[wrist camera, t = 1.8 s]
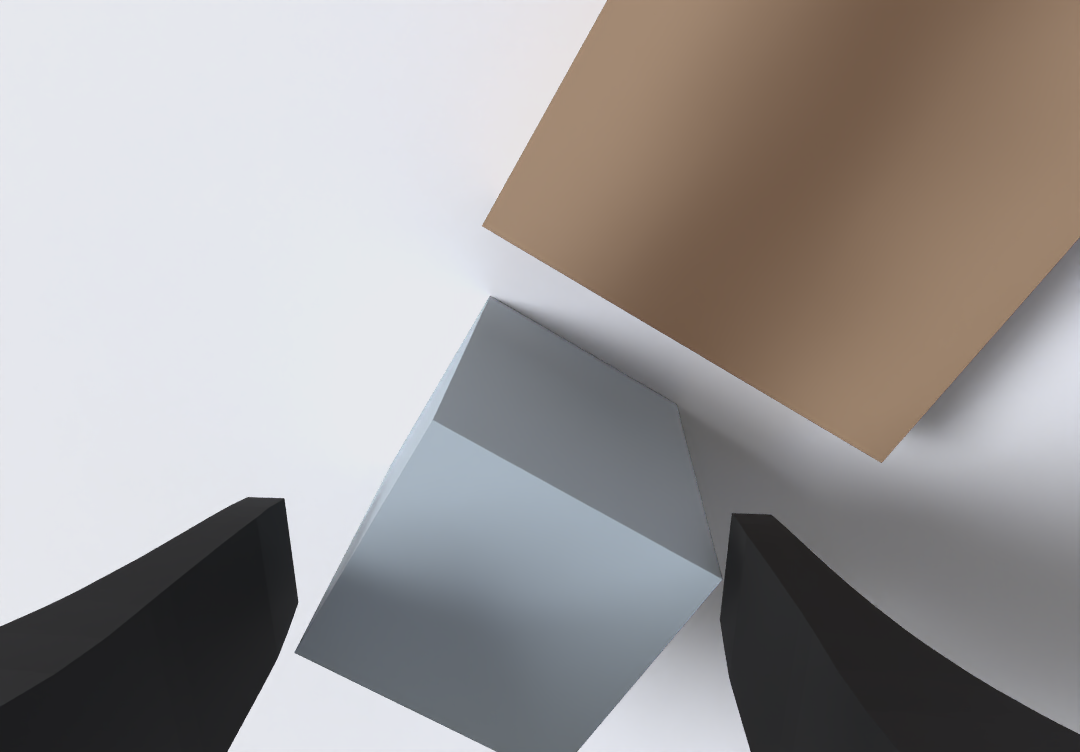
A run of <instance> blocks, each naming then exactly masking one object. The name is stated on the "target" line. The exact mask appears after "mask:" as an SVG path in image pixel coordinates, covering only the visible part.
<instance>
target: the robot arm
mask: <svg viewBox="0 0 1080 752" xmlns="http://www.w3.org/2000/svg"><path fill="white" fill-rule="evenodd" d="M297 605H298V596H297V588H296V581H295V574H294V566H293V559H292V551H291V544H290V537H289V529H288V522H287V515H286V507H285V500H284V498H256V497H247V498H245V499H243V500H241V501H239V502H237V503H235V504H233V505H231V506H229V507H227V508H225V509H223V510H221V511H220V512H218V513H216V514H214V515H213V516H211V517H209V518H207V519H206V520H204V521H202V522H201V523H199V524H197V525H195V526H194V527H192V528H190V529H189V530H187V531H185V532H183V533H182V534H180V535H178V536H177V537H175V538H173V539H171V540H170V541H168V542H166V543H164V544H163V545H161V546H159V547H158V548H156V549H154V550H152V551H151V552H149V553H147V554H146V555H144V556H142V557H140V558H138V559H137V560H135V561H133V562H131V563H129V564H127V565H125V566H124V567H122V568H120V569H118V570H116V571H114V572H112V573H110V574H109V575H107V576H105V577H103V578H101V579H99V580H97V581H95V582H94V583H92V584H90V585H88V586H86V587H84V588H82V589H81V590H79V591H77V592H75V593H73V594H71V595H69V596H67V597H64V598H62V599H60V600H58V601H56V602H54V603H52V604H50V605H48V606H46V607H43V608H41V609H39V610H37V611H35V612H32V613H30V614H28V615H26V616H23V617H21V618H19V619H16V620H14V621H12V622H10V623H7V624H5V625H3V626H0V752H227V751H228V749H229V748H230V746H231V744H232V742H233V740H234V738H235V737H236V735H237V733H238V731H239V729H240V727H241V726H242V724H243V722H244V720H245V718H246V716H247V715H248V713H249V711H250V709H251V707H252V706H253V704H254V702H255V700H256V698H257V696H258V694H259V692H260V691H261V689H262V687H263V685H264V683H265V681H266V679H267V677H268V676H269V674H270V672H271V670H272V668H273V666H274V664H275V662H276V660H277V658H278V656H279V653H280V651H281V648H282V646H283V643H284V641H285V638H286V636H287V633H288V630H289V627H290V625H291V622H292V619H293V616H294V613H295V611H296V608H297ZM720 623H721V629H722V636H723V643H724V649H725V655H726V661H727V667H728V673H729V678H730V682H731V686H732V689H733V693H734V696H735V700H736V703H737V706H738V710H739V713H740V717H741V720H742V724H743V727H744V730H745V734H746V737H747V740H748V744H749V747H750V751H751V752H1080V734H1078V733H1076V732H1074V731H1072V730H1070V729H1068V728H1066V727H1064V726H1062V725H1060V724H1058V723H1056V722H1054V721H1052V720H1050V719H1049V718H1047V717H1045V716H1043V715H1041V714H1039V713H1037V712H1036V711H1034V710H1032V709H1030V708H1028V707H1027V706H1025V705H1023V704H1021V703H1020V702H1018V701H1016V700H1014V699H1012V698H1011V697H1009V696H1007V695H1005V694H1004V693H1002V692H1000V691H998V690H996V689H995V688H993V687H991V686H990V685H988V684H986V683H985V682H983V681H981V680H980V679H978V678H976V677H975V676H973V675H971V674H970V673H968V672H967V671H965V670H964V669H962V668H961V667H959V666H957V665H956V664H954V663H953V662H951V661H950V660H948V659H947V658H945V657H944V656H942V655H941V654H939V653H938V652H936V651H935V650H933V649H932V648H930V647H929V646H927V645H926V644H924V643H923V642H922V641H920V640H919V639H917V638H916V637H915V636H913V635H912V634H910V633H909V632H908V631H906V630H905V629H904V628H902V627H901V626H900V625H898V624H897V623H896V622H895V621H893V620H892V619H891V618H889V617H888V616H887V615H885V614H884V613H883V612H882V611H880V610H879V609H878V608H876V607H875V606H874V605H873V604H871V603H870V602H869V601H868V600H867V599H865V598H864V597H863V596H862V595H860V594H859V593H858V592H857V591H856V590H854V589H853V588H852V587H851V586H850V585H849V584H847V583H846V582H845V581H844V580H843V579H842V578H841V577H839V576H838V575H837V574H836V573H835V572H834V571H833V570H831V569H830V568H829V567H828V566H827V565H826V564H825V563H824V562H823V561H821V560H820V559H819V558H818V557H817V556H816V555H815V554H814V553H813V552H812V551H811V550H809V549H808V548H807V547H806V546H805V545H804V544H803V543H802V542H801V541H800V540H799V539H798V538H797V537H795V536H794V535H793V534H792V533H791V532H790V531H789V530H788V529H787V528H786V527H785V526H784V525H782V524H781V523H780V522H779V521H778V520H777V519H776V518H775V517H773V516H772V515H766V514H736V513H732V517H731V526H730V535H729V544H728V553H727V562H726V570H725V579H724V588H723V597H722V606H721V615H720Z"/></svg>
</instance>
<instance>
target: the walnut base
mask: <svg viewBox="0 0 1080 752" xmlns="http://www.w3.org/2000/svg"><path fill="white" fill-rule="evenodd" d="M482 226H483V227H484V228H486V229H488V230H490V231H491V232H493V233H495V234H496V235H498V236H500V237H501V238H503V239H505V240H506V241H508V242H510V243H511V244H513V245H515V246H517V247H518V248H520V249H522V250H523V251H525V252H527V253H528V254H530V255H532V256H533V257H535V258H537V259H538V260H540V261H542V262H544V263H545V264H547V265H549V266H550V267H552V268H554V269H555V270H557V271H559V272H560V273H562V274H564V275H565V276H567V277H569V278H570V279H572V280H574V281H576V282H577V283H579V284H581V285H582V286H584V287H586V288H587V289H589V290H591V291H592V292H594V293H596V294H597V295H599V296H601V297H603V298H604V299H606V300H608V301H609V302H611V303H613V304H614V305H616V306H618V307H619V308H621V309H623V310H624V311H626V312H628V313H629V314H631V315H633V316H635V317H636V318H638V319H640V320H641V321H643V322H645V323H646V324H648V325H650V326H651V327H653V328H655V329H656V330H658V331H660V332H662V333H663V334H665V335H667V336H668V337H670V338H672V339H673V340H675V341H677V342H678V343H680V344H682V345H683V346H685V347H687V348H689V349H690V350H692V351H694V352H695V353H697V354H699V355H700V356H702V357H704V358H705V359H707V360H709V361H710V362H712V363H714V364H715V365H717V366H719V367H721V368H722V369H724V370H726V371H727V372H729V373H731V374H732V375H734V376H736V377H737V378H739V379H741V380H742V381H744V382H746V383H748V384H749V385H751V386H753V387H754V388H756V389H758V390H759V391H761V392H763V393H764V394H766V395H768V396H769V397H771V398H773V399H774V400H776V401H778V402H780V403H781V404H783V405H785V406H786V407H788V408H790V409H791V410H793V411H795V412H796V413H798V414H800V415H801V416H803V417H805V418H807V419H808V420H810V421H812V422H813V423H815V424H817V425H818V426H820V427H822V428H823V429H825V430H827V431H828V432H830V433H832V434H833V435H835V436H837V437H839V438H840V439H842V440H844V441H845V442H847V443H849V444H850V445H852V446H854V447H855V448H857V449H859V450H860V451H862V452H864V453H866V454H867V455H869V456H871V457H872V458H874V459H876V460H877V461H879V462H881V463H882V462H883V461H884V460H885V459H886V457H887V456H888V455H889V454H890V453H891V452H892V451H893V449H894V448H895V447H896V446H897V445H898V444H899V443H900V441H901V440H902V439H903V438H904V437H905V436H906V435H907V433H908V432H909V431H910V430H911V429H912V428H913V427H914V426H915V424H916V423H917V422H918V421H919V420H920V419H921V418H922V416H923V415H924V414H925V413H926V412H927V411H928V410H929V408H930V407H931V406H932V405H933V404H934V403H935V402H936V400H937V399H938V398H939V397H940V396H941V395H942V394H943V392H944V391H945V390H946V389H947V388H948V387H949V386H950V385H951V383H952V382H953V381H954V380H955V379H956V378H957V377H958V375H959V374H960V373H961V372H962V371H963V370H964V369H965V367H966V366H967V365H968V364H969V363H970V362H971V361H972V359H973V358H974V357H975V356H976V355H977V354H978V353H979V352H980V350H981V349H982V348H983V347H984V346H985V345H986V344H987V342H988V341H989V340H990V339H991V338H992V337H993V336H994V334H995V333H996V332H997V331H998V330H999V329H1000V328H1001V326H1002V325H1003V324H1004V323H1005V322H1006V321H1007V320H1008V319H1009V317H1010V316H1011V315H1012V314H1013V313H1014V312H1015V311H1016V309H1017V308H1018V307H1019V306H1020V305H1021V304H1022V303H1023V301H1024V300H1025V299H1026V298H1027V297H1028V296H1029V295H1030V293H1031V292H1032V291H1033V290H1034V289H1035V288H1036V287H1037V285H1038V284H1039V283H1040V282H1041V281H1042V280H1043V279H1044V278H1045V276H1046V275H1047V274H1048V273H1049V272H1050V271H1051V270H1052V268H1053V267H1054V266H1055V265H1056V264H1057V263H1058V262H1059V260H1060V259H1061V258H1062V257H1063V256H1064V255H1065V254H1066V252H1067V251H1068V250H1069V249H1070V248H1071V247H1072V246H1073V245H1074V243H1075V242H1076V241H1077V240H1078V239H1079V238H1080V0H607V2H606V4H605V5H604V7H603V9H602V11H601V13H600V14H599V16H598V18H597V20H596V22H595V23H594V25H593V27H592V29H591V31H590V32H589V34H588V36H587V38H586V40H585V41H584V43H583V45H582V47H581V49H580V50H579V52H578V54H577V56H576V58H575V59H574V61H573V63H572V65H571V67H570V68H569V70H568V72H567V74H566V76H565V77H564V79H563V81H562V83H561V85H560V86H559V88H558V90H557V92H556V94H555V95H554V97H553V99H552V101H551V103H550V104H549V106H548V108H547V110H546V112H545V113H544V115H543V117H542V119H541V121H540V122H539V124H538V126H537V128H536V130H535V131H534V133H533V135H532V137H531V139H530V140H529V142H528V144H527V146H526V148H525V149H524V151H523V153H522V155H521V157H520V158H519V160H518V162H517V164H516V166H515V167H514V169H513V171H512V173H511V175H510V176H509V178H508V180H507V182H506V184H505V185H504V187H503V189H502V191H501V193H500V194H499V196H498V198H497V200H496V202H495V203H494V205H493V207H492V209H491V211H490V212H489V214H488V216H487V218H486V220H485V221H484V223H483V225H482Z"/></svg>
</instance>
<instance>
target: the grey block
mask: <svg viewBox="0 0 1080 752" xmlns="http://www.w3.org/2000/svg"><path fill="white" fill-rule="evenodd" d="M722 580H723V579H722V575H721V572H720V568H719V564H718V560H717V556H716V553H715V549H714V545H713V541H712V537H711V534H710V530H709V526H708V522H707V518H706V515H705V511H704V507H703V503H702V499H701V496H700V492H699V488H698V484H697V480H696V477H695V473H694V469H693V465H692V461H691V458H690V454H689V450H688V446H687V442H686V439H685V435H684V431H683V427H682V423H681V420H680V416H679V412H678V408H677V404H675V403H673V402H672V401H670V400H668V399H667V398H665V397H663V396H661V395H660V394H658V393H656V392H655V391H653V390H651V389H649V388H648V387H646V386H644V385H642V384H641V383H639V382H637V381H636V380H634V379H632V378H630V377H629V376H627V375H625V374H624V373H622V372H620V371H618V370H617V369H615V368H613V367H612V366H610V365H608V364H606V363H605V362H603V361H601V360H600V359H598V358H596V357H594V356H593V355H591V354H589V353H588V352H586V351H584V350H582V349H581V348H579V347H577V346H575V345H574V344H572V343H570V342H569V341H567V340H565V339H563V338H562V337H560V336H558V335H557V334H555V333H553V332H551V331H550V330H548V329H546V328H545V327H543V326H541V325H539V324H538V323H536V322H534V321H533V320H531V319H529V318H527V317H526V316H524V315H522V314H521V313H519V312H517V311H515V310H514V309H512V308H510V307H508V306H507V305H505V304H503V303H502V302H500V301H498V300H496V299H495V298H493V297H491V296H490V297H489V298H488V300H487V302H486V303H485V305H484V307H483V309H482V310H481V312H480V314H479V315H478V317H477V319H476V321H475V322H474V324H473V326H472V327H471V329H470V331H469V333H468V334H467V336H466V338H465V339H464V341H463V343H462V344H461V346H460V348H459V350H458V351H457V353H456V355H455V356H454V358H453V360H452V362H451V363H450V365H449V367H448V368H447V370H446V372H445V374H444V375H443V377H442V379H441V380H440V382H439V384H438V386H437V387H436V389H435V391H434V392H433V394H432V396H431V397H430V399H429V401H428V403H427V404H426V406H425V408H424V409H423V411H422V413H421V415H420V416H419V418H418V420H417V421H416V423H415V425H414V427H413V428H412V430H411V432H410V433H409V435H408V437H407V439H406V440H405V442H404V444H403V445H402V447H401V449H400V450H399V452H398V454H397V456H396V457H395V459H394V461H393V462H392V464H391V466H390V468H389V470H388V472H387V474H386V476H385V478H384V480H383V482H382V484H381V486H380V488H379V489H378V491H377V493H376V495H375V497H374V499H373V501H372V503H371V505H370V507H369V509H368V511H367V513H366V515H365V517H364V519H363V521H362V522H361V524H360V526H359V528H358V530H357V532H356V534H355V536H354V538H353V540H352V542H351V544H350V546H349V548H348V550H347V552H346V554H345V555H344V557H343V559H342V561H341V563H340V565H339V567H338V569H337V571H336V573H335V575H334V577H333V579H332V581H331V583H330V585H329V587H328V588H327V590H326V592H325V594H324V596H323V598H322V600H321V602H320V604H319V606H318V608H317V610H316V612H315V614H314V616H313V618H312V620H311V621H310V623H309V625H308V627H307V629H306V631H305V633H304V635H303V637H302V639H301V641H300V643H299V645H298V647H297V649H296V651H295V653H296V654H298V655H300V656H302V657H304V658H306V659H308V660H310V661H312V662H314V663H316V664H318V665H321V666H323V667H325V668H327V669H329V670H331V671H333V672H335V673H337V674H339V675H341V676H343V677H345V678H347V679H349V680H351V681H353V682H355V683H357V684H359V685H361V686H363V687H366V688H368V689H370V690H372V691H374V692H376V693H378V694H380V695H382V696H384V697H386V698H388V699H390V700H392V701H394V702H396V703H398V704H400V705H402V706H404V707H406V708H408V709H411V710H413V711H415V712H417V713H419V714H421V715H423V716H425V717H427V718H429V719H431V720H433V721H435V722H437V723H439V724H441V725H443V726H445V727H447V728H449V729H451V730H453V731H456V732H458V733H460V734H462V735H464V736H466V737H468V738H470V739H472V740H474V741H476V742H478V743H480V744H482V745H484V746H486V747H488V748H490V749H492V750H494V751H496V752H577V751H578V750H579V749H580V748H581V746H582V745H583V744H584V743H585V742H586V740H587V739H588V738H589V737H590V736H591V735H592V733H593V732H594V731H595V730H596V729H597V727H598V726H599V725H600V724H601V723H602V722H603V720H604V719H605V718H606V717H607V716H608V714H609V713H610V712H611V711H612V710H613V709H614V707H615V706H616V705H617V704H618V703H619V701H620V700H621V699H622V698H623V697H624V696H625V694H626V693H627V692H628V691H629V690H630V688H631V687H632V686H633V685H634V684H635V682H636V681H637V680H638V679H639V678H640V677H641V675H642V674H643V673H644V672H645V671H646V669H647V668H648V667H649V666H650V665H651V664H652V662H653V661H654V660H655V659H656V658H657V656H658V655H659V654H660V653H661V652H662V651H663V649H664V648H665V647H666V646H667V645H668V643H669V642H670V641H671V640H672V639H673V638H674V636H675V635H676V634H677V633H678V632H679V630H680V629H681V628H682V627H683V626H684V624H685V623H686V622H687V621H688V620H689V619H690V617H691V616H692V615H693V614H694V613H695V611H696V610H697V609H698V608H699V607H700V606H701V604H702V603H703V602H704V601H705V600H706V598H707V597H708V596H709V595H710V594H711V593H712V591H713V590H714V589H715V588H716V587H717V585H718V584H719V583H720V582H721V581H722Z"/></svg>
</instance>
